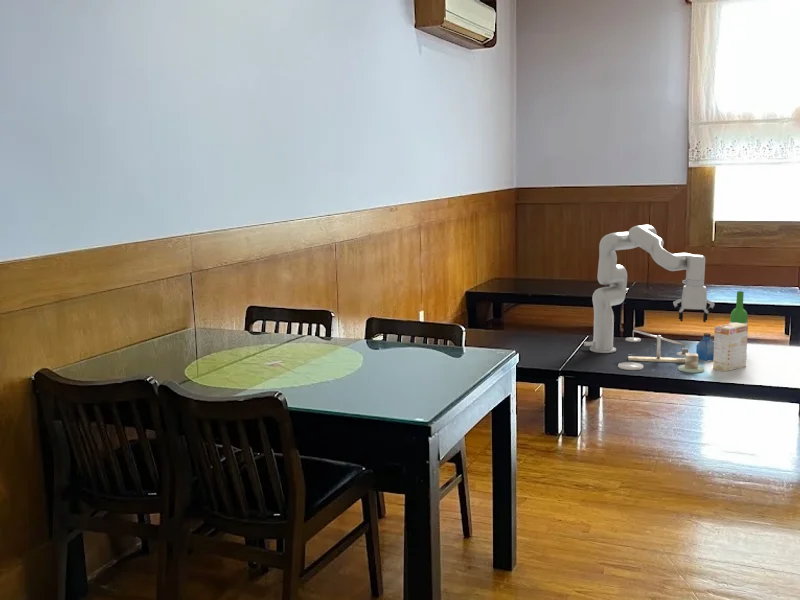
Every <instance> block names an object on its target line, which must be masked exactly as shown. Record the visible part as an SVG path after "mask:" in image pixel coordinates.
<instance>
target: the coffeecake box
mask: <svg viewBox="0 0 800 600" xmlns="http://www.w3.org/2000/svg"><path fill="white" fill-rule="evenodd" d="M748 330H749V324H748V323H747V324H742V323H736V322H735V323H730V322H729V323H727V324H726V323H724V324H720V325H715V326H714V338H713V339H714V341H713V342H714V359H713V360H712V361H713V363H712V369H713V370H717V369H718V371H722V372H730V371H733V370H737V369H741V368H745V367H746V368H747V355H748V354H747V353H748V352H747V349H748V335H749V333H748V332H749V331H748Z"/></svg>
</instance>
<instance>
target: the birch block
mask: <svg viewBox="0 0 800 600" xmlns="http://www.w3.org/2000/svg"><path fill="white" fill-rule="evenodd" d="M684 358H685V363H684V365H685V368H686V369H698V366H699V359H698V354H697V353H696V352H695V353H694V352H693V353H692V352H688V353H685V357H684Z"/></svg>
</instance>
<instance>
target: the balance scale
mask: <svg viewBox="0 0 800 600" xmlns="http://www.w3.org/2000/svg"><path fill="white" fill-rule="evenodd" d="M634 333H638V334H640V335H645V336H648V337H652V338H654V339H655V338H656V356H639V355H638V356H636V355H633V356H632V355H631V356H627V360H628V361H627V362H632V361H633V362H634V361H635V362H654V363H655V362H657V363H658V362H659V363H678V364H679V363H681V364H685V353H689V349H688V347H686V343H684V342H679V341H676V340H673V339H669V338H665V337H662V335H660V334H657V335H655V334H652V333H648V332H645V331H644V332H643V331H641V330H637V329H633V330H632V337H631V336H630V337H625V341H626V342H630V343H632V342H633V343H636V342H641V341H642V338H640V337H634ZM662 341H666V342H669V343H672V344H676V345H679V346H683V347H682V348H681V351H680V352H679V351H678V352H676V356H679V357H662V356H661V347H662V346H661V343H662Z"/></svg>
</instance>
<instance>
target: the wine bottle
mask: <svg viewBox="0 0 800 600" xmlns="http://www.w3.org/2000/svg"><path fill="white" fill-rule="evenodd" d="M744 294H745V293H744V291H739V290H738V291H737V292H736V302H735V304H736V305H735V308H733V310H732V311H731V313H730V316H729V317H730V318H729V324H730V323H735V322H736V323H742V324H747V325H748V317H749V314H748V312H747V311H746V309H744Z"/></svg>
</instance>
